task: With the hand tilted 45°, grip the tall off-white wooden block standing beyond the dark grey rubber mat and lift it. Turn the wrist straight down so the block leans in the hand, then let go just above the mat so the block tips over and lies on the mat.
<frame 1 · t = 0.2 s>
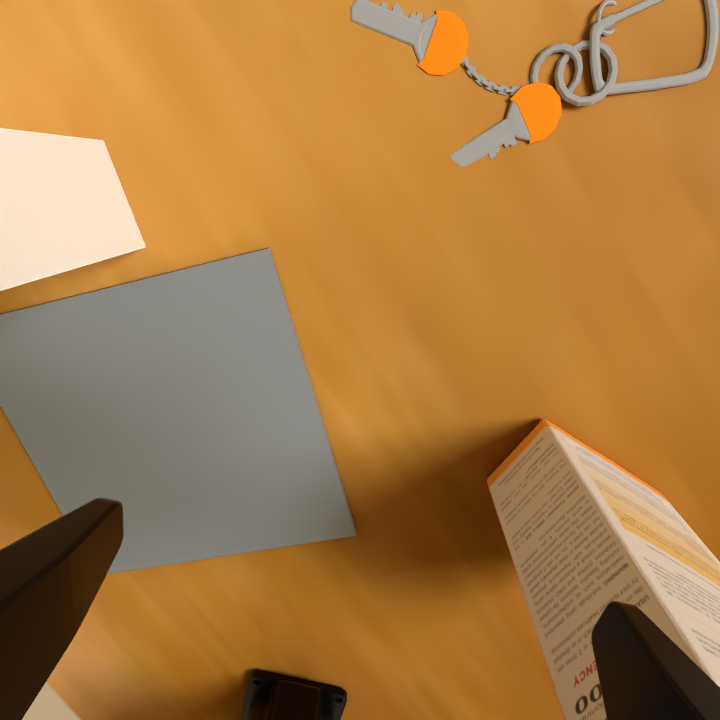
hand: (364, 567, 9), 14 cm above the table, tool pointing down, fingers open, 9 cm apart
key chain: (529, 50, 18), on the table
supplement box: (571, 484, 25), on the table
mat: (172, 434, 25), on the table
block: (79, 208, 21), on the table
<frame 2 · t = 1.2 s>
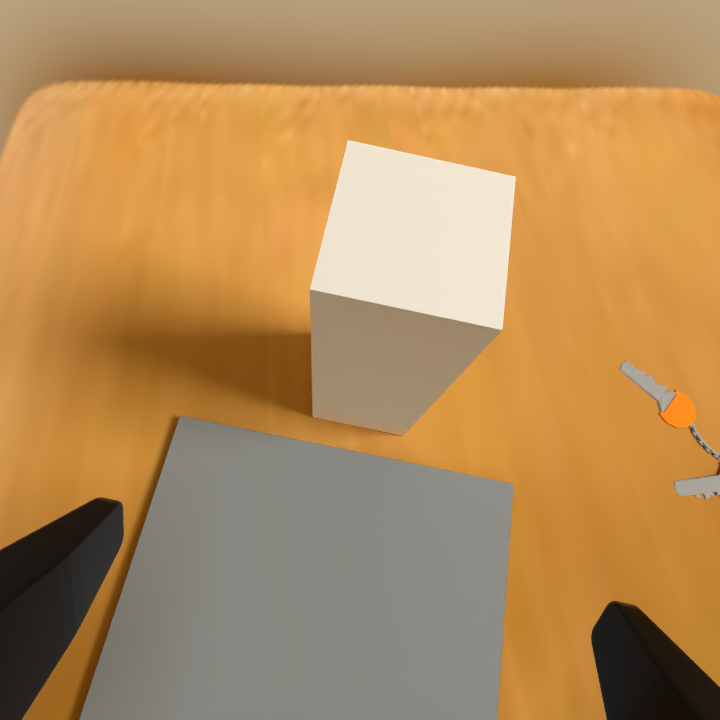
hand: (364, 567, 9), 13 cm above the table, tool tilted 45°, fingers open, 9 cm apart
mat: (310, 640, 20), on the table
block: (366, 383, 24), on the table
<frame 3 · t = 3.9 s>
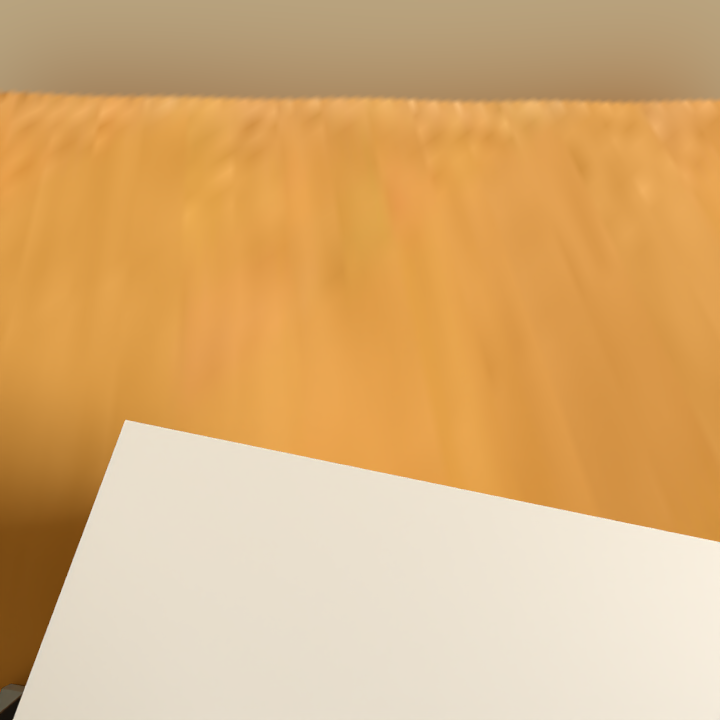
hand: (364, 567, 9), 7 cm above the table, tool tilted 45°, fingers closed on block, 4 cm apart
block: (334, 600, 14), on the table, touching gripper
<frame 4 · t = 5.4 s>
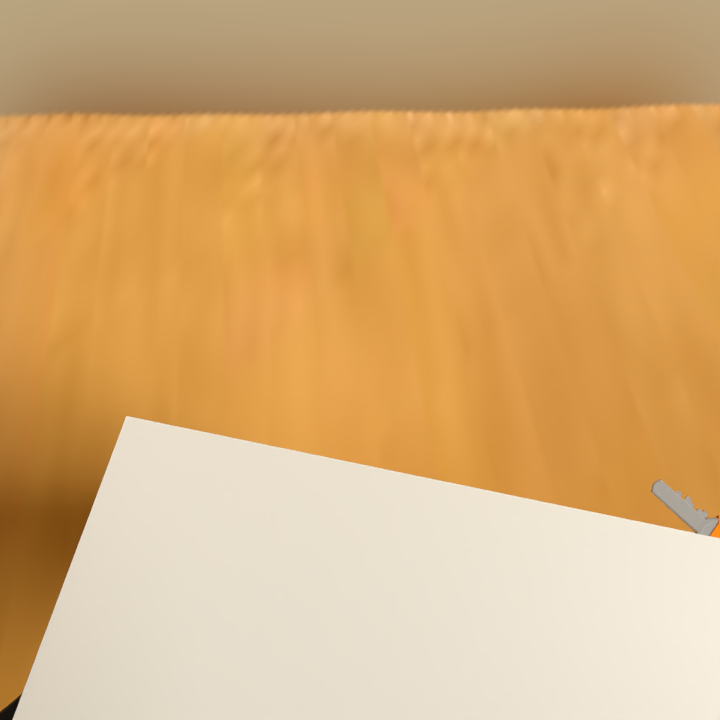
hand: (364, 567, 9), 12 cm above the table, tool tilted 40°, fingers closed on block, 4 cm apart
block: (334, 598, 14), point 5 cm above the table, tilted 6°, touching gripper
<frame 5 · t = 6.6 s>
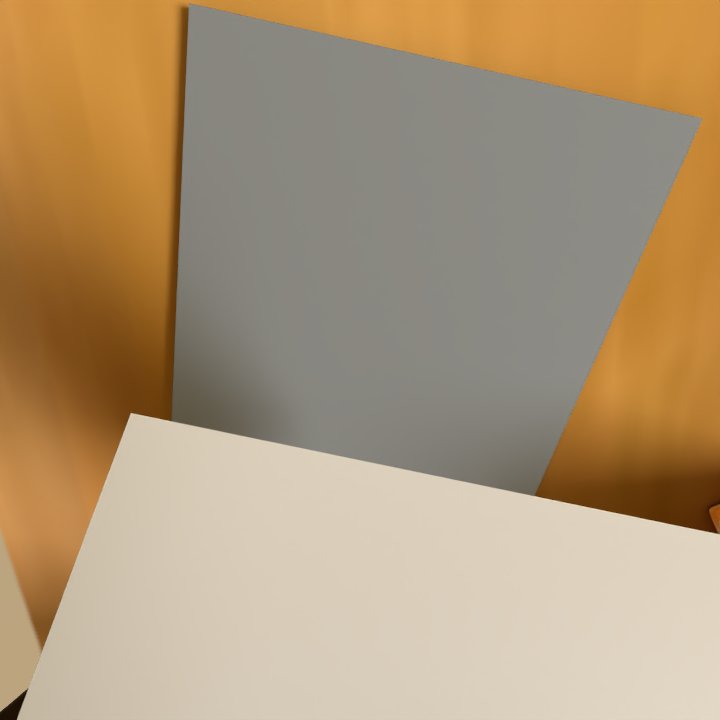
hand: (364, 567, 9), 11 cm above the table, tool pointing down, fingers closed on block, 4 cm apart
mat: (390, 305, 18), on the table
block: (334, 597, 14), point 7 cm above the table, tilted 44°, touching gripper
when the fingers open (7 cm above the table, at t = 7.9 s): block moves 2 cm and tips over, resting on mat.
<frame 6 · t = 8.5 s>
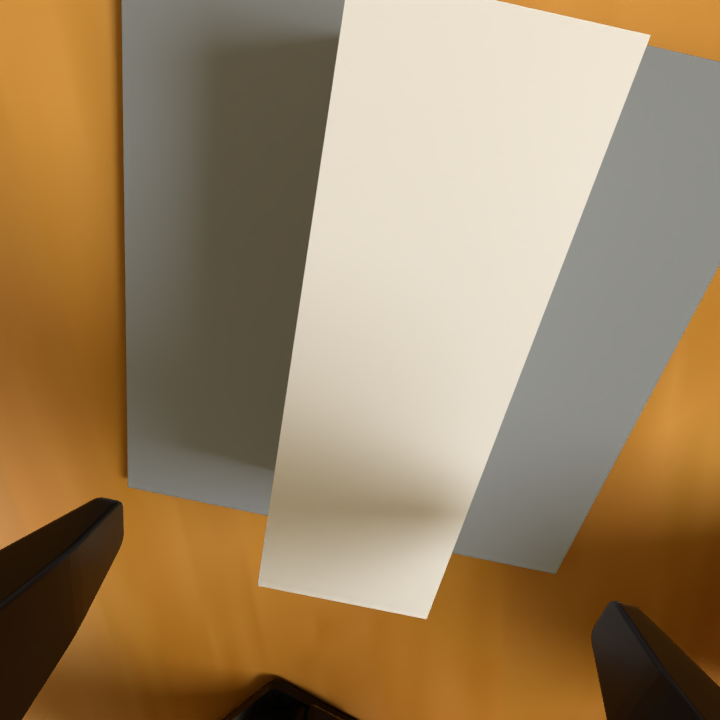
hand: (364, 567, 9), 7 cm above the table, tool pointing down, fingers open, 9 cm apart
mat: (393, 326, 14), on the table
block: (349, 537, 14), point 3 cm above the table, tilted 90°, touching mat
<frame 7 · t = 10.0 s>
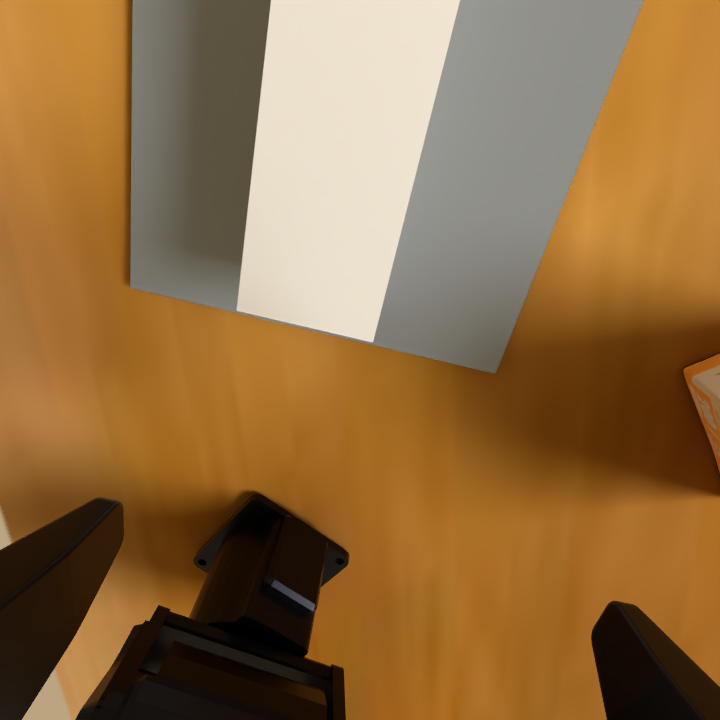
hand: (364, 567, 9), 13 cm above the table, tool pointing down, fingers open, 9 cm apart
mat: (355, 127, 17), on the table
block: (316, 304, 17), point 3 cm above the table, tilted 90°, touching mat
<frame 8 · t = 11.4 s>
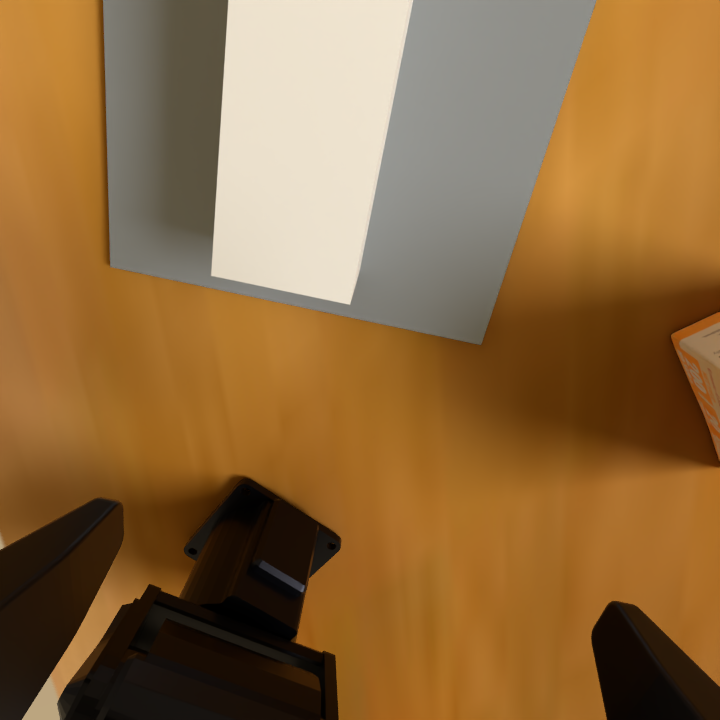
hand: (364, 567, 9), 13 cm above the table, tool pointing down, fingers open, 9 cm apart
mat: (330, 95, 17), on the table
block: (294, 273, 17), point 3 cm above the table, tilted 90°, touching mat
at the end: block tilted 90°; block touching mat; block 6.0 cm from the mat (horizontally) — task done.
